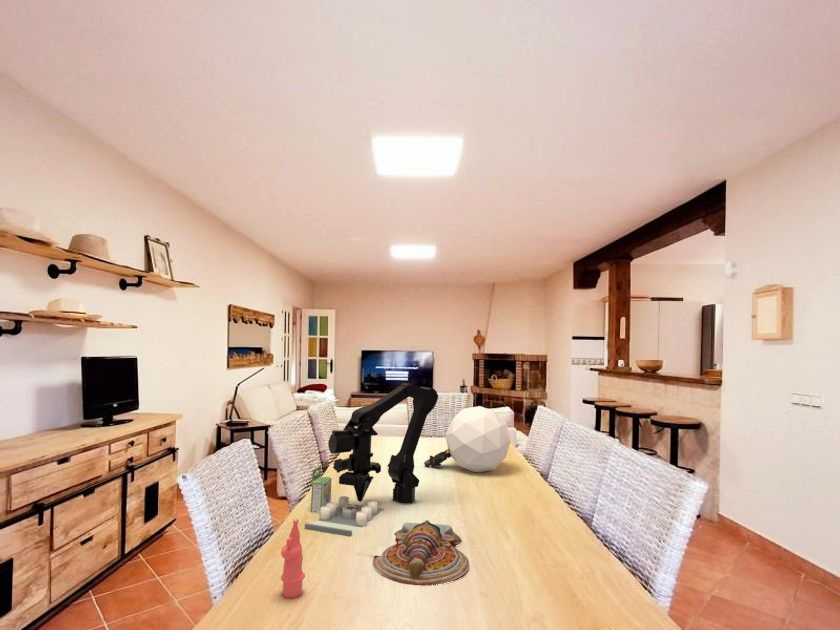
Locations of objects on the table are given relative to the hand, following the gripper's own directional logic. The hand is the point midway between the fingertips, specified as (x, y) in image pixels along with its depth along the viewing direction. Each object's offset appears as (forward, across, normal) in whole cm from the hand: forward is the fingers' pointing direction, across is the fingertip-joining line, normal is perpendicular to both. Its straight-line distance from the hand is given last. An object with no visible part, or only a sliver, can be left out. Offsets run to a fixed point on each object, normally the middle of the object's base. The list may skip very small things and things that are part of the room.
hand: (359, 501), depth 151 cm
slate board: (+3, +8, 0) cm, 9 cm away
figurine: (+4, +50, +8) cm, 50 cm away
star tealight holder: (+2, +7, 0) cm, 7 cm away
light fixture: (+4, -66, +19) cm, 69 cm away
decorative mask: (+4, +22, +28) cm, 36 cm away
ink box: (+4, +4, -11) cm, 13 cm away
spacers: (+2, +7, 0) cm, 7 cm away
